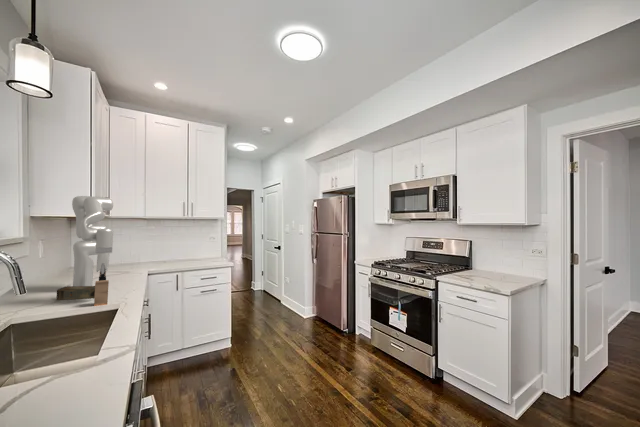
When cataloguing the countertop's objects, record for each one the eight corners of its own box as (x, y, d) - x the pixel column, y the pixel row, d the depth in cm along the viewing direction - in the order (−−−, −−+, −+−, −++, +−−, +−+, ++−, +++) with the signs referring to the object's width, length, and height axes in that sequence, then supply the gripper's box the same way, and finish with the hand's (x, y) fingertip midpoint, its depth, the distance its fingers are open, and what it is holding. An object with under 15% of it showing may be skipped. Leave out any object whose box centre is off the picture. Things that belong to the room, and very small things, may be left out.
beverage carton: (96, 298, 160) (97, 287, 160) (55, 301, 154) (55, 288, 154) (102, 295, 167) (103, 284, 167) (63, 297, 162) (64, 285, 162)
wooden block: (94, 303, 149) (95, 281, 150) (107, 302, 152) (108, 280, 153) (94, 306, 145) (95, 282, 145) (107, 304, 148) (108, 281, 148)
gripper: (95, 250, 161) (94, 282, 160) (94, 252, 149) (92, 286, 148) (112, 249, 165) (110, 280, 164) (112, 251, 153) (110, 285, 152)
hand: (102, 283), depth 156 cm, fingers closed
